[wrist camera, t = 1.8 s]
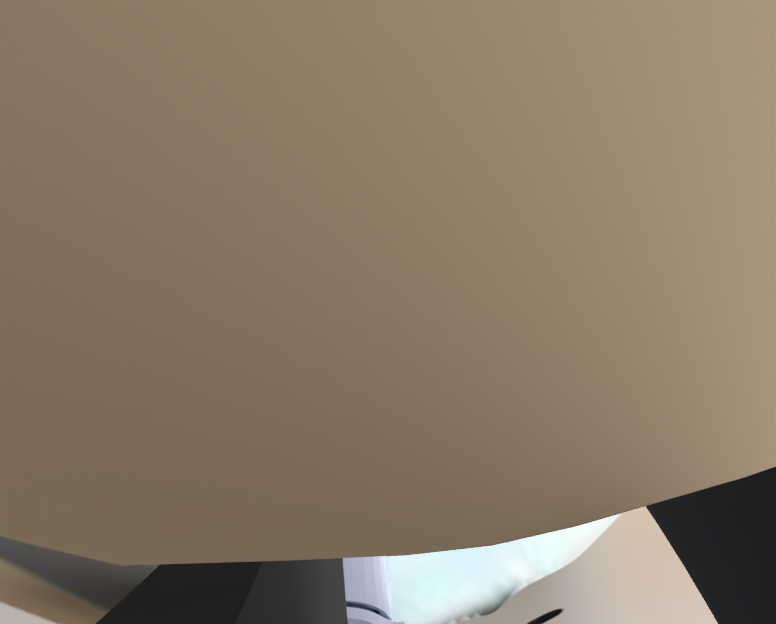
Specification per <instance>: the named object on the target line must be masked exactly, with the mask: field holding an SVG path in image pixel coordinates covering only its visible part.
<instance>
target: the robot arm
mask: <svg viewBox="0 0 776 624" xmlns="http://www.w3.org/2000/svg"><path fill="white" fill-rule="evenodd" d="M646 507H647V509H648V510H649V511H650V513H651V515H652V516H653V518H654V519H655V520H656V522H657V524H658V525H659V527H660V528H661V530H662V532H663V533H664V535H665V536H666V538H667V539H668V541H669V542H670V544H671V546H672V547H673V549H674V551H675V552H676V554H677V555H678V557H679V558H680V560H681V561H682V563H683V565H684V566H685V568H686V570H687V571H688V573H689V575H690V577H691V578H692V579H693V582H694V583H695V585H696V587H697V588H698V590H699V592H700V593H701V595H702V597H703V598H704V600H705V601H706V603H707V605H708V607H709V609H710V610H711V612H712V613H713V615H714V617H715V619H716V620H717V622H718V624H776V467H773V468H770V469H767V470H764V471H761V472H758V473H756V474H753V475H750V476H747V477H744V478H740V479H737V480H733V481H730V482H727V483H723V484H720V485H716V486H713V487H709V488H706V489H702V490H699V491H696V492H692V493H689V494H685V495H682V496H678V497H675V498H671V499H668V500H664V501H661V502H658V503H654V504H651V505H647V506H646ZM391 614H392V596H391V588H390V580H389V572H388V563H387V556H376V557H355V558H333V559H312V560H288V561H256V562H223V563H191V564H160V565H159V566H158V567H157V568H156V569H155V570H154V571H153V572H152V573H151V574H150V575H149V576H148V577H147V578H146V579H145V580H144V581H143V582H142V583H140V584H139V585H138V586H137V587H136V588H135V589H134V590H133V591H132V592H130V593H129V594H128V595H127V596H126V597H125V598H124V599H123V600H122V601H121V602H119V603H118V604H117V605H116V606H115V607H114V608H113V609H112V610H111V611H110V612H108V613H107V614H106V615H105V616H104V617H103V618H102V619H101V620H99V621H98V622H97V623H96V624H405V623H404V622H397V621H392V619H391Z"/></svg>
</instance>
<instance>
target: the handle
mask: <svg viewBox="0 0 776 624" xmlns="http://www.w3.org/2000/svg"><path fill="white" fill-rule="evenodd" d="M773 467H776V0H0V536H3V537H6V538H9V539H13V540H16V541H19V542H22V543H26V544H30V545H35V546H39V547H43V548H47V549H52V550H56V551H60V552H65V553H69V554H73V555H78V556H82V557H86V558H90V559H95V560H99V561H103V562H108V563H112V564H116V565H120V566H126V565H159V564H191V563H223V562H256V561H288V560H312V559H333V558H355V557H376V556H398V555H412V554H421V553H430V552H438V551H447V550H456V549H465V548H473V547H482V546H491V545H496V544H500V543H505V542H509V541H513V540H518V539H522V538H527V537H531V536H535V535H540V534H544V533H548V532H553V531H557V530H561V529H566V528H570V527H574V526H578V525H582V524H585V523H589V522H592V521H595V520H599V519H602V518H606V517H609V516H613V515H616V514H620V513H623V512H626V511H630V510H633V509H637V508H640V507H644V506H647V505H651V504H654V503H658V502H661V501H664V500H668V499H671V498H675V497H678V496H682V495H685V494H689V493H692V492H696V491H699V490H702V489H706V488H709V487H713V486H716V485H720V484H723V483H727V482H730V481H733V480H737V479H740V478H744V477H747V476H750V475H753V474H756V473H758V472H761V471H764V470H767V469H770V468H773Z"/></svg>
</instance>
